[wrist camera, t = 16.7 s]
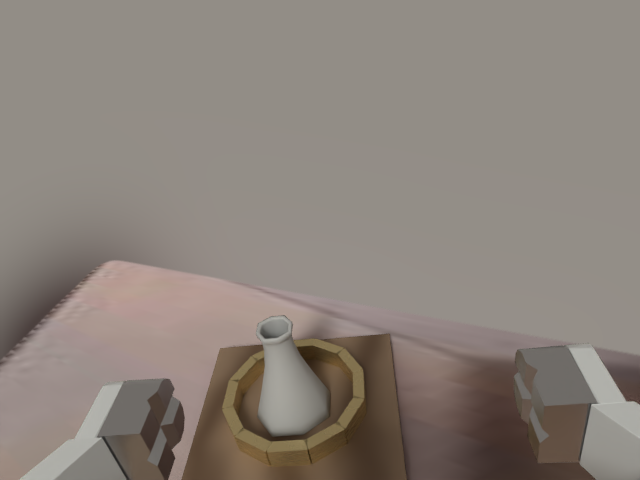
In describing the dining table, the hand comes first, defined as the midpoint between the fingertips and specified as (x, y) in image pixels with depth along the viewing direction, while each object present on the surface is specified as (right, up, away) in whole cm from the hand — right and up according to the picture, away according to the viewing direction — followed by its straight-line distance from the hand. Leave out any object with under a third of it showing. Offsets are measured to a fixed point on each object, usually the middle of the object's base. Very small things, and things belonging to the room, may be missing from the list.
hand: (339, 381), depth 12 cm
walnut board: (-2, -13, +36) cm, 39 cm away
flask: (-3, -13, +36) cm, 38 cm away
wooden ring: (-3, -12, +36) cm, 38 cm away
